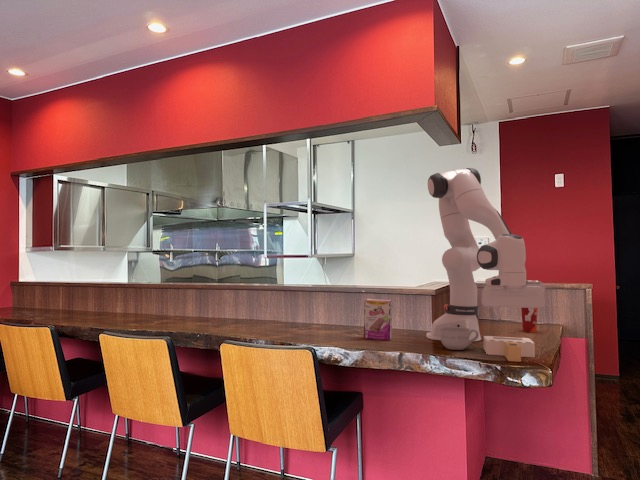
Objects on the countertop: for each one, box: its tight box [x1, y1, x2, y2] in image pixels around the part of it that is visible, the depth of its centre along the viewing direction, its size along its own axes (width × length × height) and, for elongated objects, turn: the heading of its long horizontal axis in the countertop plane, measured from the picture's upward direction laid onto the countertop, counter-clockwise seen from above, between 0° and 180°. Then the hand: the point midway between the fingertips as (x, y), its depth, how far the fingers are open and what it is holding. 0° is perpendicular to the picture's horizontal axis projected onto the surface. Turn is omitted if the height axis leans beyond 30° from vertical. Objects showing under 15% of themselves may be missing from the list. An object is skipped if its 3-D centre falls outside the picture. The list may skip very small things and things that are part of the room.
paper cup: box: [520, 308, 539, 334], centre depth 208 cm, size 8×8×14 cm
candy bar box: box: [363, 298, 393, 342], centre depth 188 cm, size 11×5×16 cm, turn 71°
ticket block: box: [483, 335, 536, 358], centre depth 164 cm, size 16×9×5 cm, turn 76°
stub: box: [504, 342, 522, 363], centre depth 156 cm, size 4×8×5 cm, turn 166°
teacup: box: [440, 327, 479, 351], centre depth 171 cm, size 14×11×8 cm
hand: (513, 320), depth 155 cm, fingers open, 8 cm apart
